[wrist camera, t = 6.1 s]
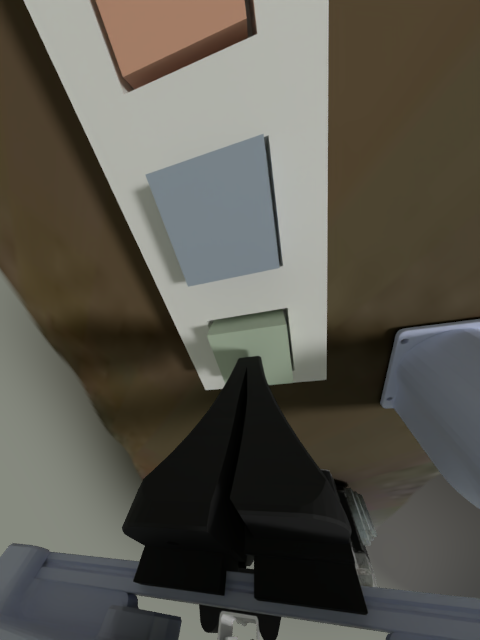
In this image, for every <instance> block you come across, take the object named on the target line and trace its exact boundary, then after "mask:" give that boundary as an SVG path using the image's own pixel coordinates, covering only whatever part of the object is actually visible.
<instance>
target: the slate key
mask: <svg viewBox="0 0 480 640" xmlns="http://www.w3.org/2000/svg"><path fill="white" fill-rule="evenodd" d="M146 178H147V181H148V183H149V186H150V188H151V191H152V194H153V196H154V199H155V201H156V204H157V207H158V209H159V212H160V215H161V217H162V220H163V222H164V225H165V228H166V230H167V233H168V236H169V238H170V241H171V243H172V246H173V249H174V251H175V254H176V257H177V259H178V262H179V264H180V267H181V270H182V272H183V275H184V277H185V280H186V283H187V285H188V287H189V286H194V285H199V284H204V283H209V282H214V281H219V280H223V279H228V278H233V277H238V276H243V275H248V274H253V273H258V272H263V271H267V270H272V269H277V268H280V267H279V258H278V250H277V242H276V233H275V225H274V217H273V209H272V200H271V192H270V184H269V175H268V167H267V159H266V150H265V142H264V134H261V135H258V136H255V137H252V138H250V139H247V140H244V141H241V142H238V143H235V144H232V145H229V146H227V147H224V148H221V149H218V150H215V151H212V152H209V153H206V154H204V155H201V156H198V157H195V158H192V159H189V160H186V161H183V162H181V163H178V164H175V165H172V166H169V167H166V168H163V169H160V170H158V171H155V172H152V173H149V174H146Z"/></svg>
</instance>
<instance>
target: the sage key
mask: <svg viewBox="0 0 480 640" xmlns="http://www.w3.org/2000/svg"><path fill="white" fill-rule="evenodd" d="M207 338H208V340H209V343H210V346H211V348H212V351H213V353H214V356H215V359H216V361H217V364H218V367H219V369H220V372H221V374H222V377H223V380H224V382H225V384H226V382H227V380H228V378H229V377H230V375H231V373H232V371H233V369H234V367H235V365H236V363H237V360H238V359H239V358H244V357H252V356H260V357H261V359H262V364H263V368H264V373H265V377H266V380H267V383H268V385H275V384H287V383H293V375H292V367H291V358H290V350H289V342H288V333H287V325H286V321H285V317H284V314H283V310H282V309H278V310H271V311H265V312H259V313H253V314H247V315H241V316H235V317H228V318H222V319H216V320H213V323H212V325H211V327H210V330H209V332H208V334H207Z"/></svg>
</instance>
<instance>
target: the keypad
mask: <svg viewBox="0 0 480 640" xmlns="http://www.w3.org/2000/svg"><path fill="white" fill-rule="evenodd" d="M24 2H25V5H26V7H27V9H28V11H29V13H30V15H31V17H32V20H33V22H34V24H35V26H36V28H37V30H38V32H39V35H40V37H41V39H42V41H43V43H44V45H45V47H46V50H47V52H48V54H49V56H50V58H51V60H52V62H53V65H54V67H55V69H56V71H57V73H58V75H59V77H60V80H61V82H62V84H63V86H64V88H65V90H66V92H67V95H68V97H69V99H70V101H71V103H72V105H73V107H74V110H75V112H76V114H77V116H78V118H79V120H80V122H81V124H82V127H83V129H84V131H85V133H86V135H87V137H88V139H89V142H90V144H91V146H92V148H93V150H94V152H95V154H96V157H97V159H98V161H99V163H100V165H101V167H102V169H103V172H104V174H105V176H106V178H107V180H108V182H109V184H110V187H111V189H112V191H113V193H114V195H115V197H116V199H117V202H118V204H119V206H120V208H121V210H122V212H123V214H124V217H125V219H126V221H127V223H128V225H129V227H130V229H131V232H132V234H133V236H134V238H135V240H136V242H137V244H138V246H139V249H140V251H141V253H142V255H143V257H144V259H145V261H146V264H147V266H148V268H149V270H150V272H151V274H152V276H153V279H154V281H155V283H156V285H157V287H158V289H159V291H160V294H161V296H162V298H163V300H164V302H165V304H166V306H167V309H168V311H169V313H170V315H171V317H172V319H173V321H174V324H175V326H176V328H177V330H178V332H179V334H180V336H181V339H182V341H183V343H184V345H185V347H186V349H187V351H188V354H189V356H190V358H191V360H192V362H193V364H194V366H195V368H196V371H197V373H198V375H199V377H200V379H201V381H202V383H203V386H204V388H205V390H214V389H223V387H224V386H225V382H224V380H223V377H222V374H221V372H220V369H219V367H218V364H217V361H216V359H215V356H214V353H213V351H212V348H211V346H210V343H209V340H208V338H207V334H208V332H209V330H210V327H211V325H212V323H213V320H216V319H222V318H228V317H235V316H241V315H247V314H253V313H259V312H265V311H271V310H278V309H282V310H283V314H284V317H285V321H286V325H287V333H288V342H289V350H290V358H291V367H292V375H293V383H295V382H306V381H318V380H327V192H328V4H329V0H245V8H246V16H247V32H248V38H247V39H245V40H243V41H241V42H238V43H236V44H234V45H232V46H230V47H227V48H225V49H223V50H221V51H219V52H216V53H214V54H212V55H210V56H208V57H205V58H203V59H201V60H199V61H197V62H194V63H192V64H190V65H188V66H186V67H183V68H181V69H179V70H177V71H175V72H172V73H170V74H168V75H166V76H164V77H161V78H159V79H157V80H155V81H153V82H150V83H148V84H146V85H144V86H142V87H139V88H137V89H134V88H133V87H132V86H131V85H130V84H129V83H128V82H127V81H126V80H125V79H124V78H123V76H122V73H121V70H120V68H119V65H118V62H117V59H116V56H115V53H114V51H113V48H112V45H111V42H110V39H109V37H108V34H107V31H106V28H105V25H104V23H103V20H102V17H101V14H100V11H99V8H98V6H97V3H96V0H24ZM261 134H264V142H265V150H266V159H267V167H268V175H269V184H270V192H271V200H272V209H273V217H274V225H275V233H276V242H277V250H278V258H279V267H280V268H277V269H272V270H267V271H263V272H258V273H253V274H248V275H243V276H238V277H233V278H228V279H223V280H219V281H214V282H209V283H204V284H199V285H194V286H189V287H188V285H187V283H186V280H185V277H184V275H183V272H182V270H181V267H180V264H179V262H178V259H177V257H176V254H175V251H174V249H173V246H172V243H171V241H170V238H169V236H168V233H167V230H166V228H165V225H164V222H163V220H162V217H161V215H160V212H159V209H158V207H157V204H156V201H155V199H154V196H153V194H152V191H151V188H150V186H149V183H148V181H147V178H146V174H149V173H152V172H155V171H158V170H160V169H163V168H166V167H169V166H172V165H175V164H178V163H181V162H183V161H186V160H189V159H192V158H195V157H198V156H201V155H204V154H206V153H209V152H212V151H215V150H218V149H221V148H224V147H227V146H229V145H232V144H235V143H238V142H241V141H244V140H247V139H250V138H252V137H255V136H258V135H261Z"/></svg>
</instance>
